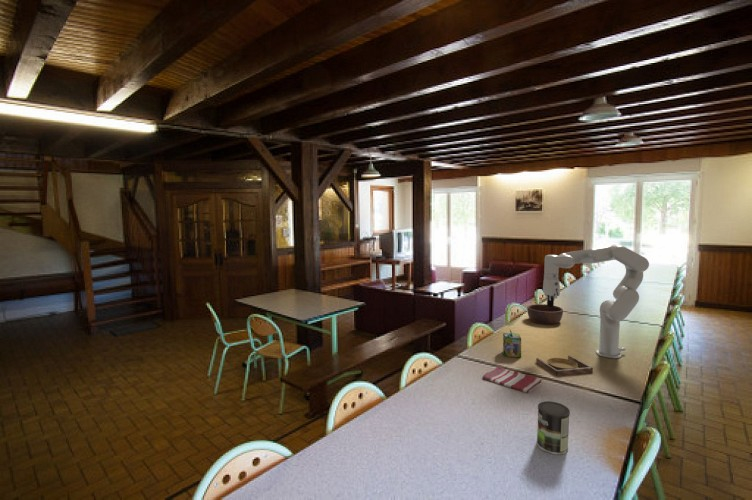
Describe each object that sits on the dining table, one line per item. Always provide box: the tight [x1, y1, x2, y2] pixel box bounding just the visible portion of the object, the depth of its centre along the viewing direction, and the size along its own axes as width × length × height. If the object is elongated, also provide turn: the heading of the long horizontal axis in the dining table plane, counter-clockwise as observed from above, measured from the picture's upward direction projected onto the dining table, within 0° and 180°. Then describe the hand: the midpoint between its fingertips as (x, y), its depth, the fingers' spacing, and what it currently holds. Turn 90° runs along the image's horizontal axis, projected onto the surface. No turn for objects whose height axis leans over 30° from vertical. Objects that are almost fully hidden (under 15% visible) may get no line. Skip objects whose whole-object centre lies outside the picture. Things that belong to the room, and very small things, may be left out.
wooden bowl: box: [526, 303, 564, 325], centre depth 292 cm, size 25×25×10 cm
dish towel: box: [482, 365, 543, 394], centre depth 191 cm, size 17×23×3 cm
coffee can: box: [536, 400, 571, 455], centre depth 137 cm, size 10×10×14 cm
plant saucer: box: [546, 357, 579, 370], centre depth 206 cm, size 15×15×3 cm
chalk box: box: [502, 329, 522, 358], centre depth 225 cm, size 9×9×15 cm
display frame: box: [535, 354, 594, 377], centre depth 206 cm, size 21×18×2 cm
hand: (550, 306), depth 227 cm, fingers closed
